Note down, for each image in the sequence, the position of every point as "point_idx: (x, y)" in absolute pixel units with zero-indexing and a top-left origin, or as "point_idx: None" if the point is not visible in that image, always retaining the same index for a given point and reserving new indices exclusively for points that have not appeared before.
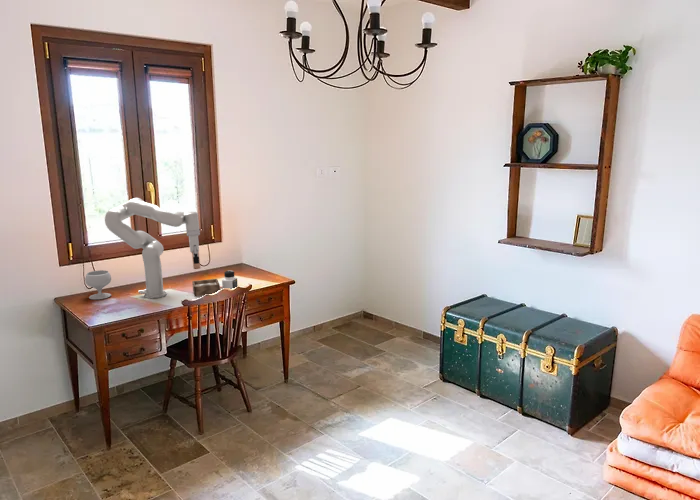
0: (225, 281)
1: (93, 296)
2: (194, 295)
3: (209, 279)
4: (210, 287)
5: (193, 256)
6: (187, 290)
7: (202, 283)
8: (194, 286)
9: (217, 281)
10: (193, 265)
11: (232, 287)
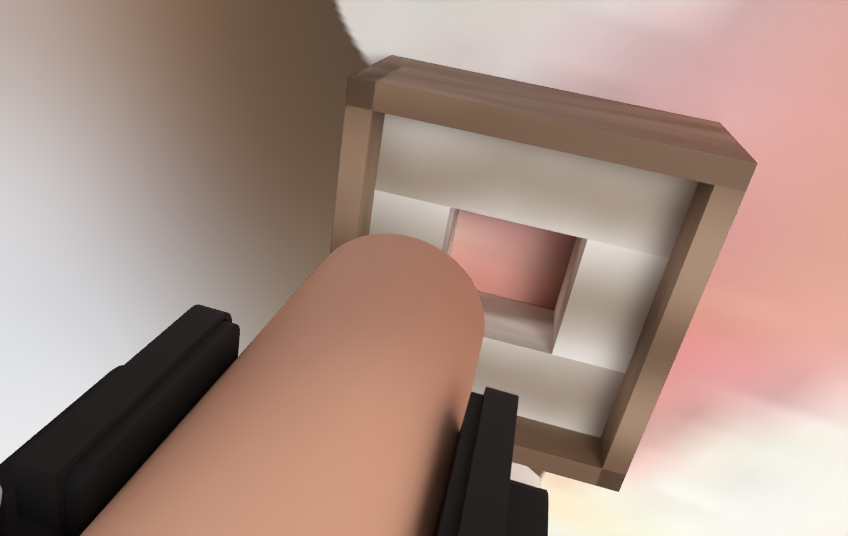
0: None
1: None
2: (409, 60)
3: (650, 409)
4: None
5: (88, 528)
6: (778, 45)
7: (658, 286)
8: (378, 93)
9: None
10: (343, 275)
11: None
